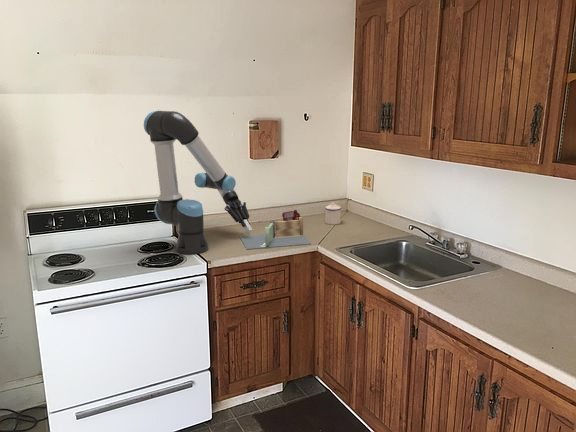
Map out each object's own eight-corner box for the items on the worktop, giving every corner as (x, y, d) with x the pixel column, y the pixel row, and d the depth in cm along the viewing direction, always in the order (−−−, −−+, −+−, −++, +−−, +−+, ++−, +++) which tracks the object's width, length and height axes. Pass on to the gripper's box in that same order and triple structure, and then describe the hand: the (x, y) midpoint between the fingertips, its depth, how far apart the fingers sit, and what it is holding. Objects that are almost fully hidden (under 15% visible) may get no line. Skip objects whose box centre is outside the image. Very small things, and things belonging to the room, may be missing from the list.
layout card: (246, 249, 240) (246, 248, 239) (239, 236, 260) (239, 235, 260) (311, 244, 247) (311, 243, 247) (299, 232, 268) (299, 231, 268)
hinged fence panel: (270, 237, 256) (270, 220, 254) (274, 237, 256) (273, 220, 253) (264, 245, 242) (264, 227, 240) (269, 245, 242) (268, 227, 240)
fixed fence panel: (271, 239, 256) (270, 220, 254) (270, 237, 258) (269, 218, 256) (303, 236, 260) (303, 217, 258) (302, 235, 262) (302, 216, 260)
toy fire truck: (305, 228, 275) (305, 210, 272) (287, 232, 268) (287, 213, 265) (297, 226, 280) (297, 207, 278) (279, 229, 273) (279, 211, 270)
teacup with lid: (344, 223, 285) (344, 203, 282) (331, 225, 280) (331, 205, 277) (331, 218, 295) (331, 199, 292) (318, 221, 290) (318, 201, 287)
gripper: (235, 196, 270) (256, 232, 263) (215, 200, 261) (236, 238, 254) (241, 188, 265) (263, 224, 258) (221, 192, 256) (242, 229, 249)
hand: (249, 231), depth 256 cm, fingers closed
